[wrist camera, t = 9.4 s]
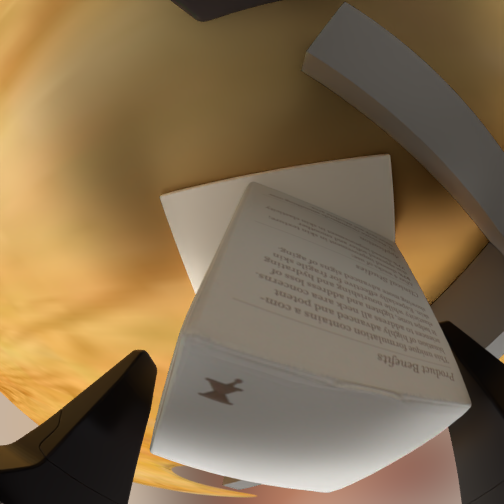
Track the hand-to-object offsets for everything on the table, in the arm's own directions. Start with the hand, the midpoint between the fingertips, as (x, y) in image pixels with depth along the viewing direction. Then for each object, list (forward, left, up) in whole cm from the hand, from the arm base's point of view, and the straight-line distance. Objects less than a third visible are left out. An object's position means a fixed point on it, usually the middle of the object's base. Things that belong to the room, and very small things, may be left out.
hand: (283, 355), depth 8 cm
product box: (0, 0, -4) cm, 4 cm away
